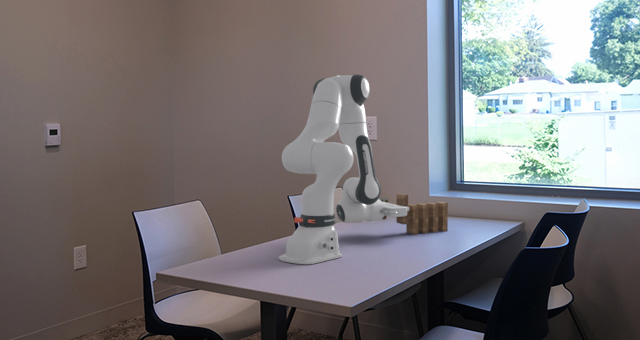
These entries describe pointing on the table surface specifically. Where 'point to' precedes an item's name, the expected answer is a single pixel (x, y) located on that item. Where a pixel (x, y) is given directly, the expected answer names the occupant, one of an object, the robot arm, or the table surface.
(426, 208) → the domino
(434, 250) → the table surface
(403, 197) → the domino
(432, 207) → the domino
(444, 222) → the domino
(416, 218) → the domino
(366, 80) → the robot arm
